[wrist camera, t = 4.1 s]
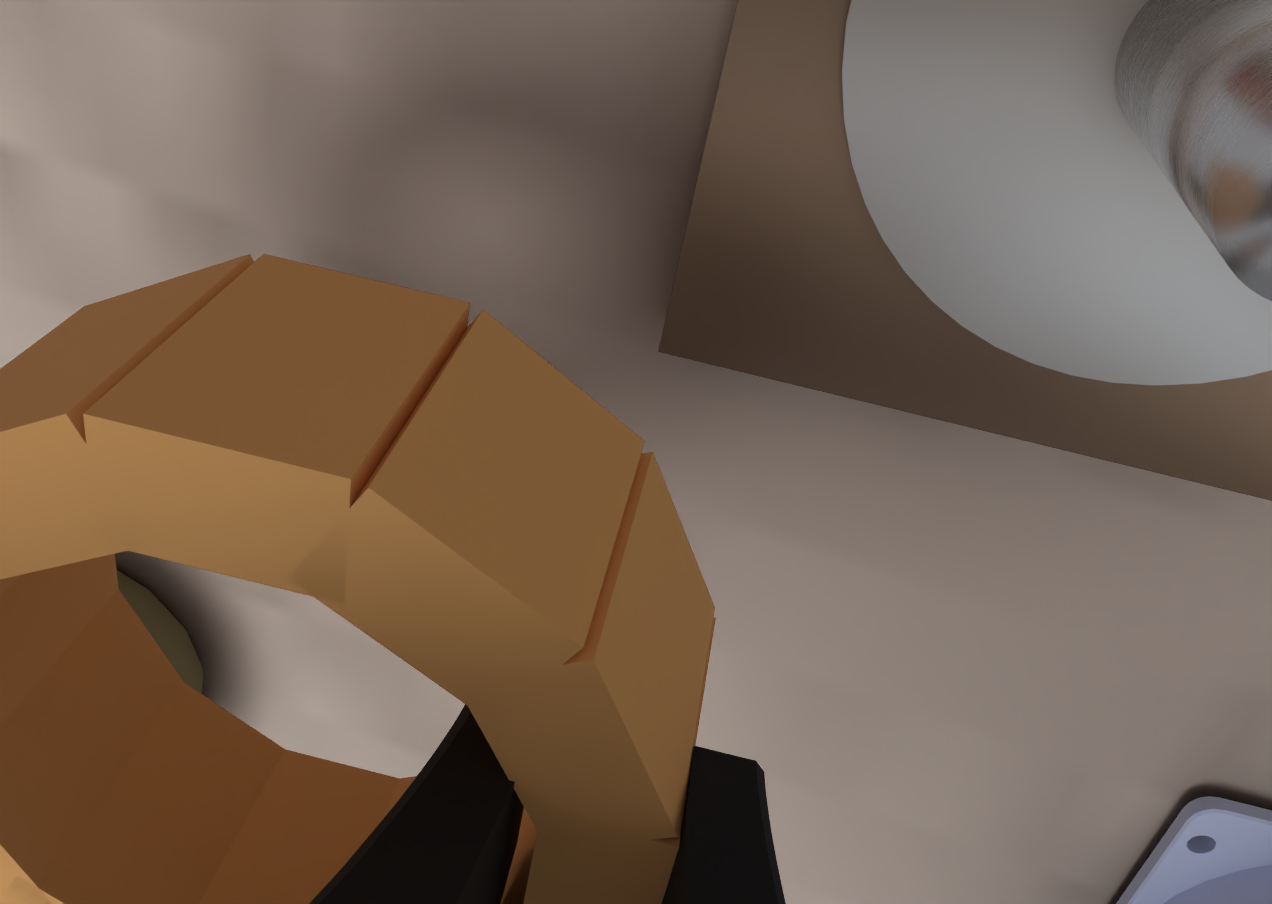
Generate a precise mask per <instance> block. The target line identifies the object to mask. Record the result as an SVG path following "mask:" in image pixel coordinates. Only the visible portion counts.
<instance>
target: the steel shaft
mask: <svg viewBox="0 0 1272 904" xmlns="http://www.w3.org/2000/svg"><path fill="white" fill-rule="evenodd" d="M1115 91H1116V96H1117V101H1118V104H1119V106H1120V109H1121V112H1122V114H1123V115H1124V117H1125V119H1126V121H1127V122H1128V124H1129V125H1130V127H1131V128H1132V130H1133V131H1134V132H1135V134H1136V135H1137V137H1138V138H1139V140H1140V141H1141V142H1142V144H1143V145H1144V147H1145V148H1146V150H1147V151H1148V152H1149V154H1150V155H1151V157H1152V158H1153V160H1154V161H1155V162H1156V164H1157V165H1158V167H1159V168H1160V170H1161V171H1162V172H1163V174H1164V175H1165V177H1166V178H1167V180H1168V181H1169V182H1170V184H1171V185H1172V187H1173V188H1174V190H1175V191H1176V192H1177V194H1178V195H1179V197H1180V198H1181V200H1182V201H1183V202H1184V204H1185V205H1186V207H1187V208H1188V210H1189V211H1190V212H1191V214H1192V215H1193V217H1194V218H1195V219H1196V221H1197V222H1198V224H1199V225H1200V227H1201V228H1202V229H1203V231H1204V232H1205V234H1206V235H1207V237H1208V238H1209V239H1210V241H1211V242H1212V244H1213V245H1214V247H1215V248H1216V249H1217V251H1218V252H1219V254H1220V255H1221V257H1222V258H1223V259H1224V261H1225V262H1226V264H1227V265H1228V267H1229V268H1230V269H1231V270H1232V272H1233V273H1234V274H1235V275H1236V277H1237V278H1238V279H1239V280H1240V281H1241V282H1243V283H1244V284H1245V285H1246V286H1247V287H1248V288H1249V289H1251V290H1252V291H1254V292H1255V293H1257V294H1258V295H1260V296H1262V297H1264V298H1266V299H1268V300H1270V301H1272V0H1148V1H1147V2H1146V4H1145V5H1144V6H1143V7H1142V8H1141V10H1140V11H1139V12H1138V13H1137V15H1136V16H1135V18H1134V19H1133V21H1132V23H1131V24H1130V26H1129V27H1128V29H1127V32H1126V34H1125V36H1124V38H1123V40H1122V43H1121V46H1120V49H1119V51H1118V56H1117V60H1116V65H1115Z"/></svg>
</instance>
